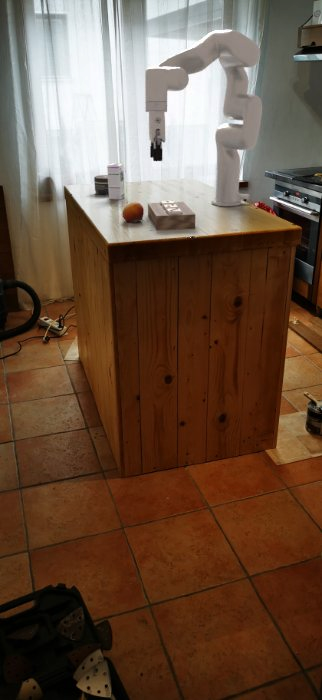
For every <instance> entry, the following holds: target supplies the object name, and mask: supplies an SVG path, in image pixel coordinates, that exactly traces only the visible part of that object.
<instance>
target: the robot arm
mask: <svg viewBox="0 0 322 700" xmlns="http://www.w3.org/2000/svg"><path fill="white" fill-rule="evenodd" d="M260 58H261V49H260V47H259V45H258V44H257V42H256V41H254V40H252V39H251V38H250V37H248V36H246V35H245V34H243V33H242V32H240V31H238V30H236V29H235V30H234V29H223V30H222V29H221V30H214V31H212V32H209V33H208V34H207V35H205V36H204V37H203V38H202V39H200V40H199V41H198V42H196V43H195V44H194V45H192V46H191V47H190V48H188V49H185V50H183V51H180V52H179V53H176V54H174V55H172V56H169V57H168V58H166V59H165V60H163V61H162V62H160V63H159V64H157V65H156V66H152V67H151V66H150V67H148V68H146V70H145V81H144V83H145V87H144V88H145V93H144V94H145V97H144V98H145V99H144V100H145V113H148V135H149V141H150V145H149V148H150V149H149V151H150V152H149V155H150V158H151V159H152V161H154V162H162V161H163V143H165V142H166V115H165V113H168V92H170V91H171V92H181V91H182V90H184V89H185V88H187V86H188V84H189V81H190V79H189V78H190V77H189V75H193V74H196V73H200V72H202V71H204V70H206V69H207V68H208V67H209V66H210V65H211V64H212V63H214V62H215V61H217V60H218V61H219V64H220V65H221V66H222V68H223V71H224V74H225V75H226V88H225V94H224V100H223V101H224V102H223V106H222V107H223V108H222V112H223V116H224V118H226V119H227V120H232V121H240V122H241V121H242V124H241V123H230V122H229V123H228V122H227V123H223V124H221V125H220V126H218V128H217V129H216V130H215V137H214V140H215V145H216V176H215V177H216V179H215V198H213V199H212V200H211V205H214V206H217V207H237V206H240V205H242V200H244V199H245V200H249V199H250V194H248V193H247V194H245V193H240V191H239V190H240V189H239V187H240V170H241V169H240V168H241V158H240V154H239V151H251V150H252V149H255V146H256V144H257V141H258V139H259V138H258V137H259V134H260V133H259V132H260V128H261V127H260V126H261V121H262V114H263V105H262V104H263V102H262V100H261V98H260V97H259V96H258V95H257V94H250V93H249V94H248V91H249V82H250V80H249V75H248V74H247V72H246V70H245V68H253V67H254V66H256V65H257V64H259V61H260ZM238 150H239V151H238Z"/></svg>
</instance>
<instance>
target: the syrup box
mask: <svg viewBox="0 0 322 700" xmlns="http://www.w3.org/2000/svg"><path fill="white" fill-rule="evenodd" d="M106 168H107V169H106V170H107V175H108V188H109V195H108V199H109V200H122V199H123V198H125V176H124V175H125V174H124V164H123V163H118V162H116V163H110V164H108V165H107V166H106Z"/></svg>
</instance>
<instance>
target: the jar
mask: <svg viewBox="0 0 322 700" xmlns="http://www.w3.org/2000/svg"><path fill="white" fill-rule="evenodd" d="M93 180H94V181H93V182H94V191H95V194H96V195H99V196H109V188H108V174H100V175H95V176H94V178H93Z"/></svg>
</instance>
